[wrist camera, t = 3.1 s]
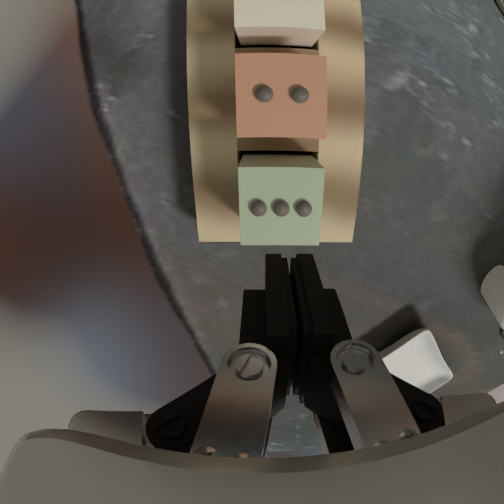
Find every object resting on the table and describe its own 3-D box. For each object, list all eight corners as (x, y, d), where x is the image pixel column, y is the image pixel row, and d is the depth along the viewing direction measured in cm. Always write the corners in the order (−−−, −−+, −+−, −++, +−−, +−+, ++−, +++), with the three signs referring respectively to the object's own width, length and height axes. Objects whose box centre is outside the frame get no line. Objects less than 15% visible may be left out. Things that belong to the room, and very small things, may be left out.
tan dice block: (241, 66, 17) (234, 52, 12) (312, 68, 16) (327, 55, 12) (242, 131, 19) (236, 137, 15) (311, 132, 19) (327, 139, 14)
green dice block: (243, 154, 20) (237, 167, 16) (311, 155, 20) (325, 169, 15) (245, 216, 23) (240, 246, 18) (308, 216, 22) (319, 246, 18)
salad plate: (357, 417, 45) (359, 430, 42) (295, 383, 38) (296, 402, 35) (448, 365, 37) (455, 378, 34) (418, 309, 30) (428, 327, 27)
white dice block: (240, -8, 13) (233, -37, 9) (308, -7, 13) (320, -35, 8) (240, 45, 16) (234, 26, 11) (311, 47, 16) (326, 29, 11)
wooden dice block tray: (196, -10, 14) (188, -23, 12) (347, -8, 14) (357, -20, 11) (205, 227, 26) (199, 241, 23) (343, 227, 25) (351, 242, 22)
